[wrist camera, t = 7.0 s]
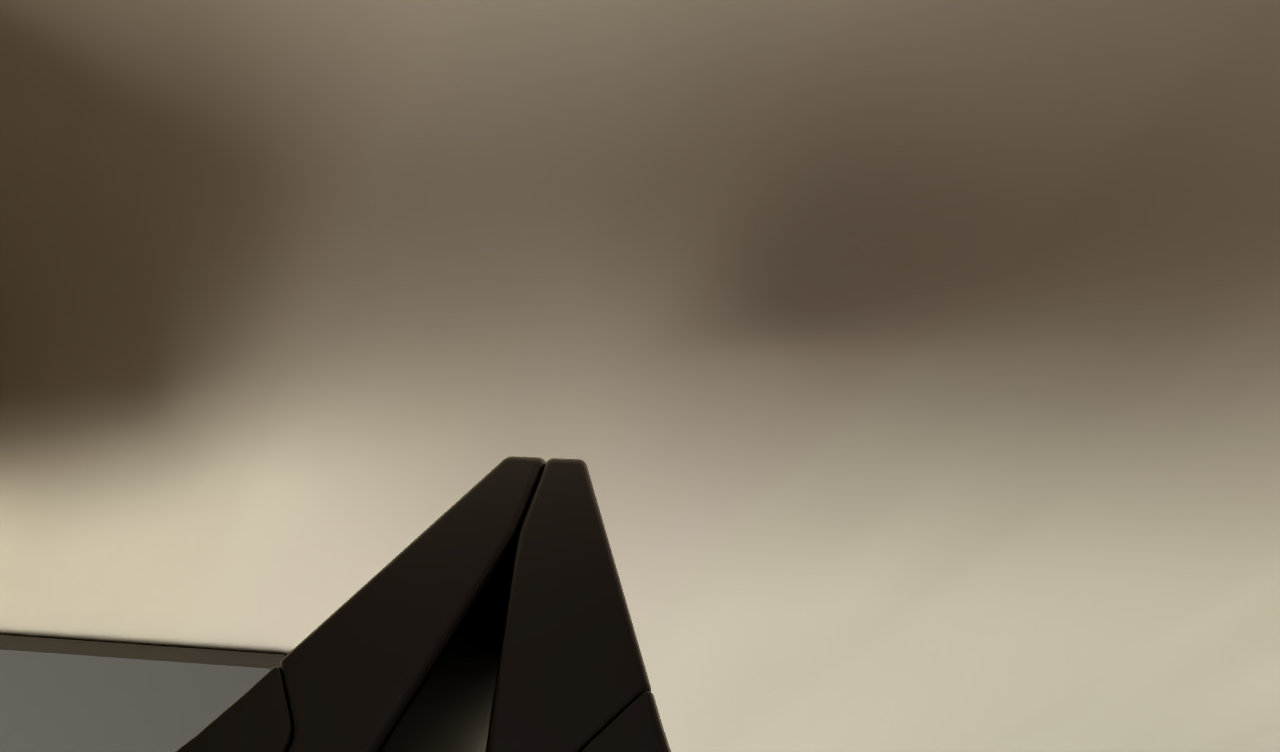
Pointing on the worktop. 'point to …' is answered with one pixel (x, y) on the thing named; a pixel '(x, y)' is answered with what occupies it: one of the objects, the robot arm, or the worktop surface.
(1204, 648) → the worktop surface
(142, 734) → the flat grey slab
